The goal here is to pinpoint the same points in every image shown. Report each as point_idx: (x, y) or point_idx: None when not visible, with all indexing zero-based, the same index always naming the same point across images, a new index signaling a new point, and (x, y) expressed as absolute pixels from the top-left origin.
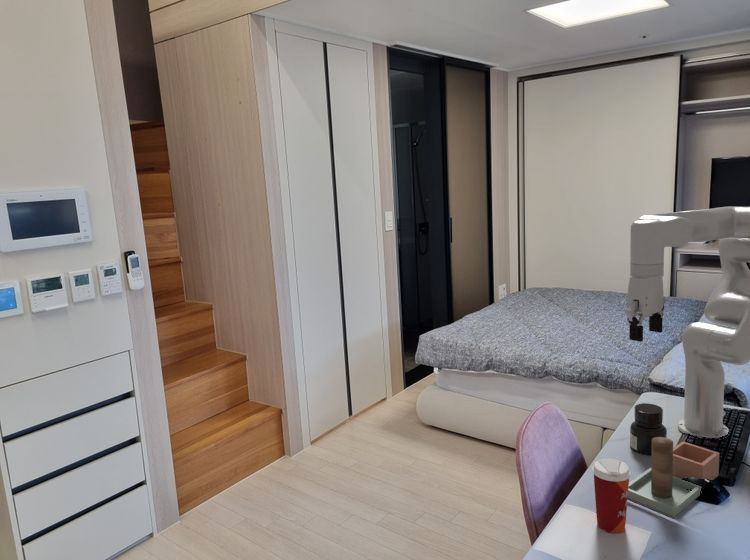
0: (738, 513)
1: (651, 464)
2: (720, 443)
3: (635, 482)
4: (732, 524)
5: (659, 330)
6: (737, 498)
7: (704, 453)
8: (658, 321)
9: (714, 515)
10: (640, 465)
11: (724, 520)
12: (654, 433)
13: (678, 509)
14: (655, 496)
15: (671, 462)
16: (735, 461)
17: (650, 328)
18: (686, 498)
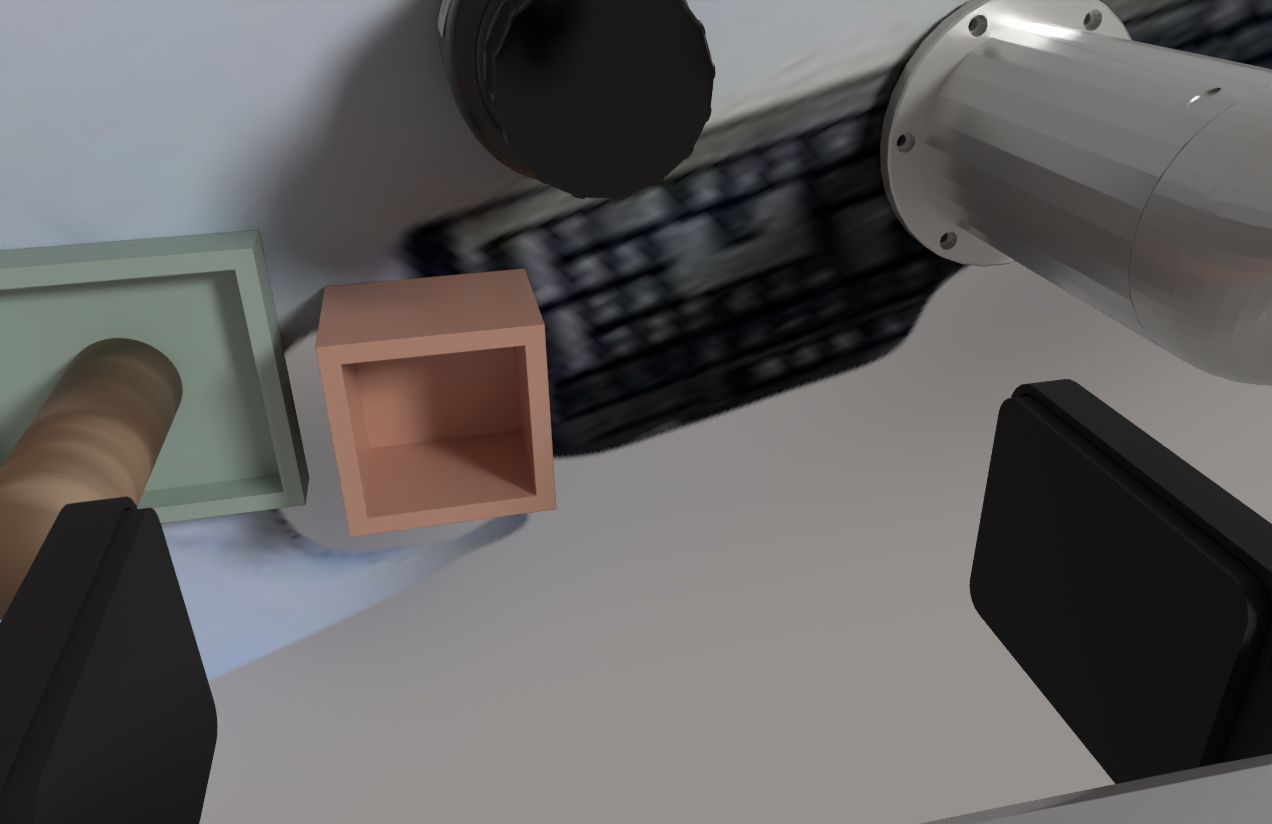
0: (311, 617)
1: (29, 428)
2: (898, 269)
3: (26, 285)
4: (211, 643)
5: (992, 606)
6: (424, 562)
7: (530, 438)
8: (1123, 733)
9: (208, 580)
10: (330, 118)
11: (210, 616)
12: (503, 157)
13: None
14: None
15: None
16: (749, 404)
17: (1030, 442)
18: None
